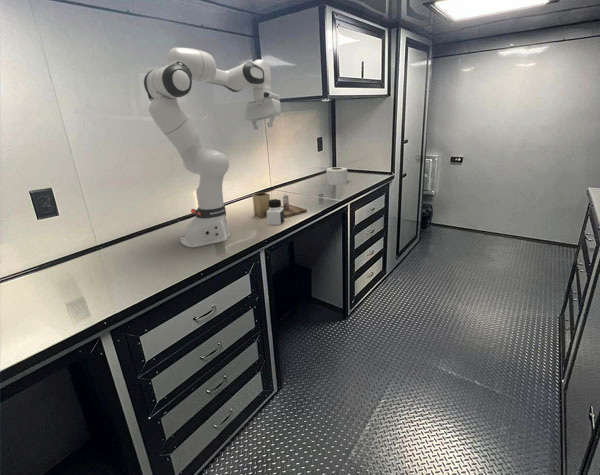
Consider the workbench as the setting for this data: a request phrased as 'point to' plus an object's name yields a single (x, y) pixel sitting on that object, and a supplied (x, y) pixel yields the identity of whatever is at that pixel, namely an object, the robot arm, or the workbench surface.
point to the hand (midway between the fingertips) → (262, 128)
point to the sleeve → (261, 204)
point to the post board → (291, 208)
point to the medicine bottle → (275, 213)
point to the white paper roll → (336, 175)
